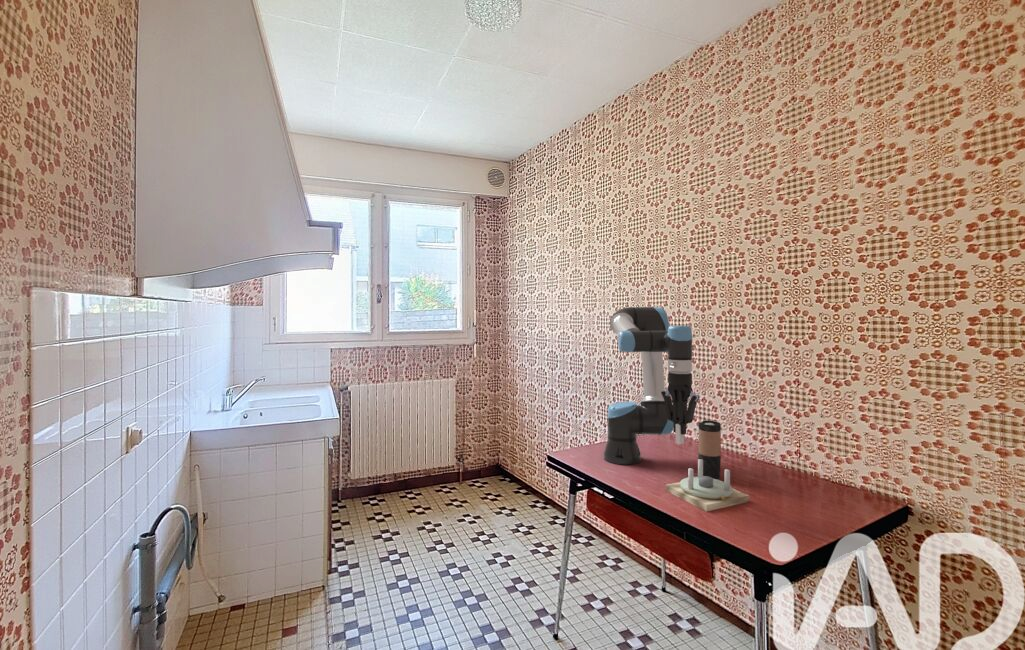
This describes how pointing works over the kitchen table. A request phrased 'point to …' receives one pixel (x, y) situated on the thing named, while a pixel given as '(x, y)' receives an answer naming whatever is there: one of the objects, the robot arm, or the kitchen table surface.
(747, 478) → the kitchen table surface
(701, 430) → the travel mug
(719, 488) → the green peg holder
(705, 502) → the stand base
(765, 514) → the kitchen table surface
